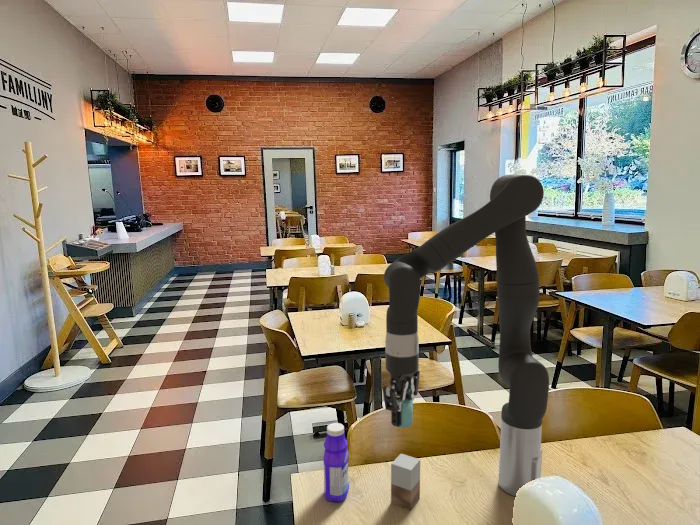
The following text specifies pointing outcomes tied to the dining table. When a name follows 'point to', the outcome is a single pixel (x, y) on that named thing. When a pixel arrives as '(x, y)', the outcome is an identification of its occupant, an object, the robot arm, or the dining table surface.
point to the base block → (405, 496)
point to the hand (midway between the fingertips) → (402, 419)
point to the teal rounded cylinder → (406, 413)
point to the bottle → (336, 463)
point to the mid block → (405, 471)
